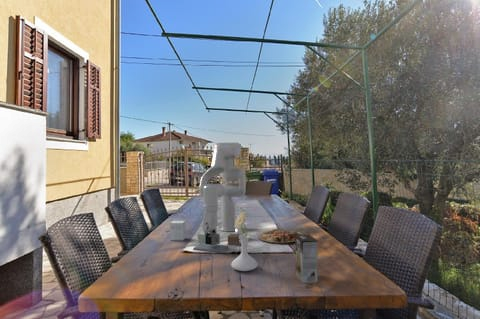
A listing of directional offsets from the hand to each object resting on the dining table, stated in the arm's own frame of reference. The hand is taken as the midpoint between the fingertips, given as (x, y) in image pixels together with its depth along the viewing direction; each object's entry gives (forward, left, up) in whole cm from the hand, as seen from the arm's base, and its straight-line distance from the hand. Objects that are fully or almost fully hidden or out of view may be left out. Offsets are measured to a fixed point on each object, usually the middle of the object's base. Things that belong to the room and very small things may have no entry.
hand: (210, 242), depth 149 cm
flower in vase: (+23, +25, -4) cm, 34 cm away
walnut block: (-11, +9, -4) cm, 15 cm away
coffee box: (+25, +51, -4) cm, 57 cm away
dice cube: (0, +1, -1) cm, 2 cm away
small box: (-11, -26, -4) cm, 29 cm away
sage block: (-11, -9, -4) cm, 15 cm away
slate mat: (0, 0, -3) cm, 3 cm away
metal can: (-22, +9, -3) cm, 24 cm away
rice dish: (-30, +33, -4) cm, 45 cm away
